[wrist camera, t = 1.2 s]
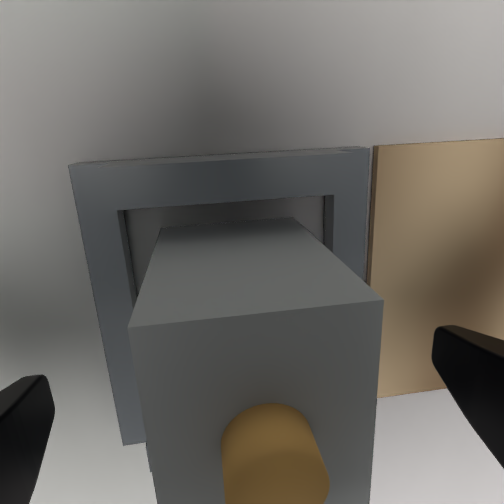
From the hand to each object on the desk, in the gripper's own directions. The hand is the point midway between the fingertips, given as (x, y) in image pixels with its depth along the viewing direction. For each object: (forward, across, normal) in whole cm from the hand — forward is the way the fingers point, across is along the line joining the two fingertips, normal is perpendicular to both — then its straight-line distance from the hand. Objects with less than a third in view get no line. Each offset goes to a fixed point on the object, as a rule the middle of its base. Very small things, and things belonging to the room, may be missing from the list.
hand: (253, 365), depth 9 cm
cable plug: (+4, 0, 0) cm, 4 cm away
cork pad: (+4, -9, 0) cm, 10 cm away
